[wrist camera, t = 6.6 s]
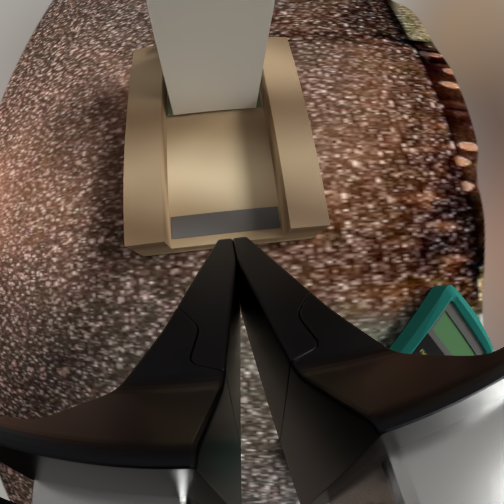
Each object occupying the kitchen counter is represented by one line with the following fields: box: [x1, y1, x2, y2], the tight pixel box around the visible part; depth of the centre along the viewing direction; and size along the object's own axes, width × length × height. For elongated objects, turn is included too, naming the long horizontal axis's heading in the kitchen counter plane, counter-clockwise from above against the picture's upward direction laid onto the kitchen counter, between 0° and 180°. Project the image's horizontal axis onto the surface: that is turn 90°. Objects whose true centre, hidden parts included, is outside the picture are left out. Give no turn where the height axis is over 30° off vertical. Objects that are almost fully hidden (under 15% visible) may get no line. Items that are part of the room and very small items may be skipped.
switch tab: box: [146, 0, 275, 115], centre depth 13 cm, size 4×5×10 cm
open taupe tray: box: [123, 37, 330, 256], centre depth 17 cm, size 13×10×4 cm
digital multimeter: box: [389, 285, 493, 356], centre depth 16 cm, size 7×15×3 cm, turn 134°
